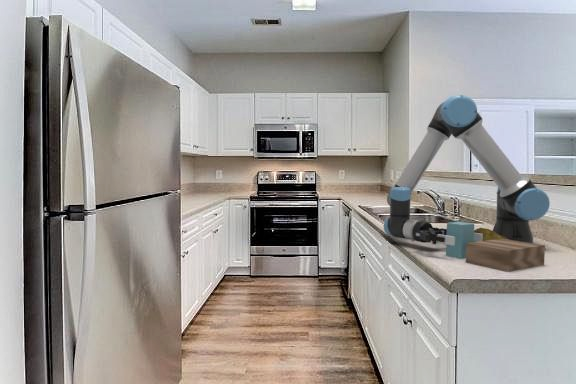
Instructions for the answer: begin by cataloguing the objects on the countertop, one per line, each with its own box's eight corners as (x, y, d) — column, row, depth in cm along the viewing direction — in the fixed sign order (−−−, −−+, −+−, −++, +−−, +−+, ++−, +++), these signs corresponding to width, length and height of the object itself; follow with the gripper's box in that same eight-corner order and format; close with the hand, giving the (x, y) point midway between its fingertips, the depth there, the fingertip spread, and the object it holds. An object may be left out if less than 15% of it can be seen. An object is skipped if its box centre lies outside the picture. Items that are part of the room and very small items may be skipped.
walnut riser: (501, 256, 144) (502, 238, 143) (544, 264, 131) (544, 245, 131) (465, 262, 135) (466, 242, 134) (507, 271, 122) (508, 250, 122)
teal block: (457, 253, 148) (458, 221, 147) (473, 257, 142) (474, 223, 142) (445, 255, 145) (446, 222, 144) (461, 258, 139) (462, 224, 139)
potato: (508, 255, 146) (509, 231, 146) (469, 250, 154) (469, 228, 154) (513, 251, 153) (514, 229, 152) (475, 247, 161) (476, 225, 160)
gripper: (441, 238, 165) (492, 247, 147) (393, 243, 153) (441, 254, 134) (442, 219, 165) (493, 225, 146) (393, 222, 152) (442, 230, 134)
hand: (468, 239), depth 140 cm, fingers open, 13 cm apart
